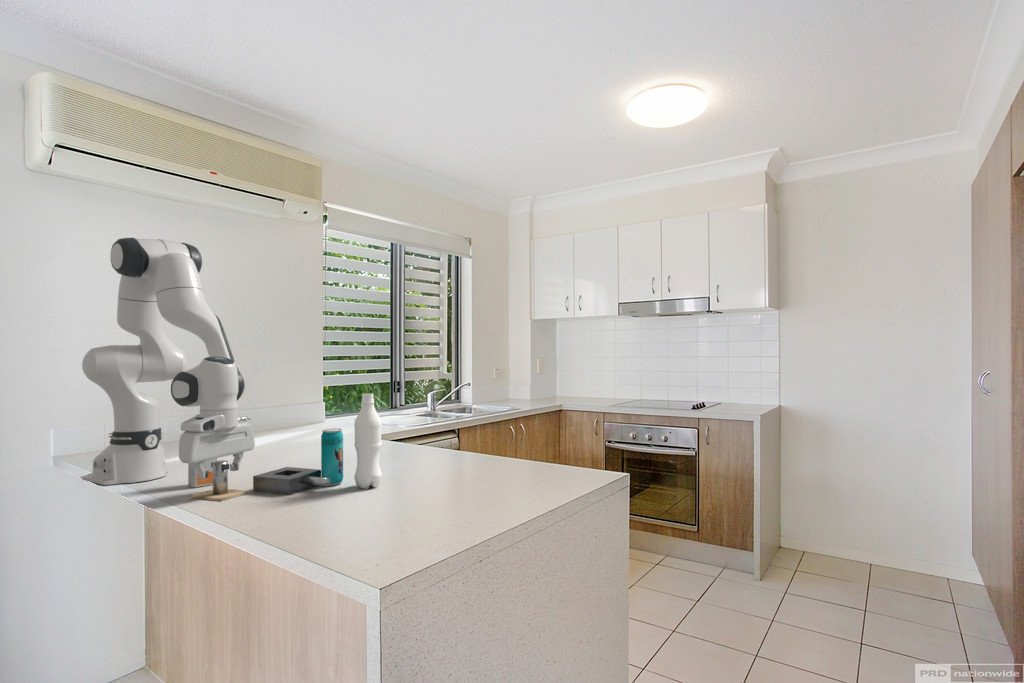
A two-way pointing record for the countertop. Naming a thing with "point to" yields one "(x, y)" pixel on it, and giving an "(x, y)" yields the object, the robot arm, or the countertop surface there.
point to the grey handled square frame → (288, 480)
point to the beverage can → (332, 455)
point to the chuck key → (220, 477)
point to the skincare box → (193, 474)
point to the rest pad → (209, 495)
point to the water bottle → (367, 444)
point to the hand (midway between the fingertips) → (219, 474)
